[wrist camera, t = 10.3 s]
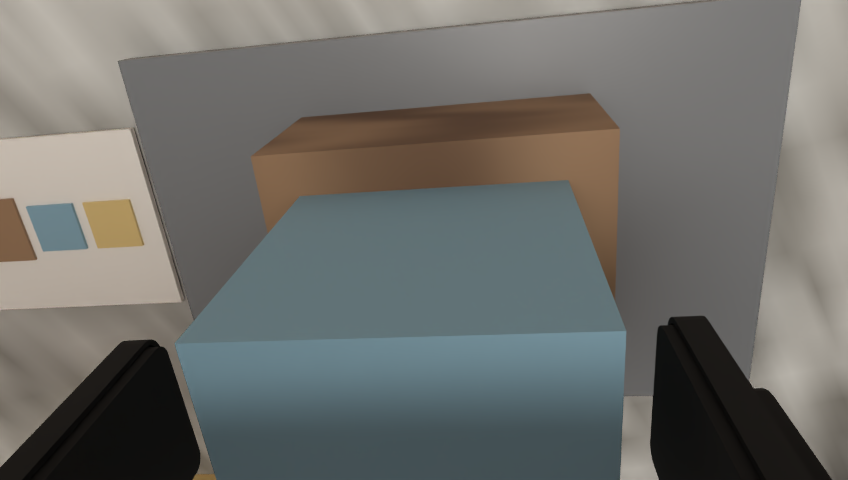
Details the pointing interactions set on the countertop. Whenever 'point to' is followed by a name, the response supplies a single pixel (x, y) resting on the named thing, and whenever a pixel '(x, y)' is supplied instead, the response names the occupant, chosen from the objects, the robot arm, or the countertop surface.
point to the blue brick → (414, 342)
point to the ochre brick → (204, 477)
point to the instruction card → (80, 224)
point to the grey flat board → (509, 80)
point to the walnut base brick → (453, 156)
